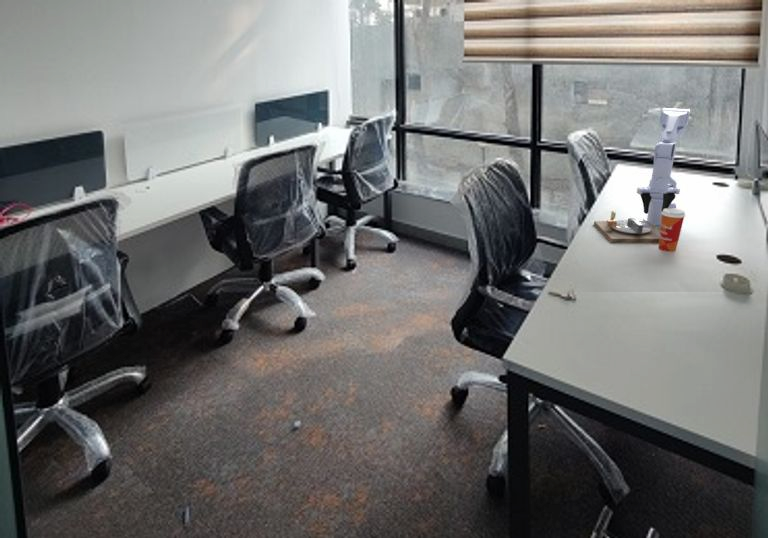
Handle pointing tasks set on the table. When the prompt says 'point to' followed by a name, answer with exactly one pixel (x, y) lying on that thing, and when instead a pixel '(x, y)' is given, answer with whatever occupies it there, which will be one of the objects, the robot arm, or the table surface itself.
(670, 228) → the paper cup
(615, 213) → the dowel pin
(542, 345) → the table surface
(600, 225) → the base board
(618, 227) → the flange plate
